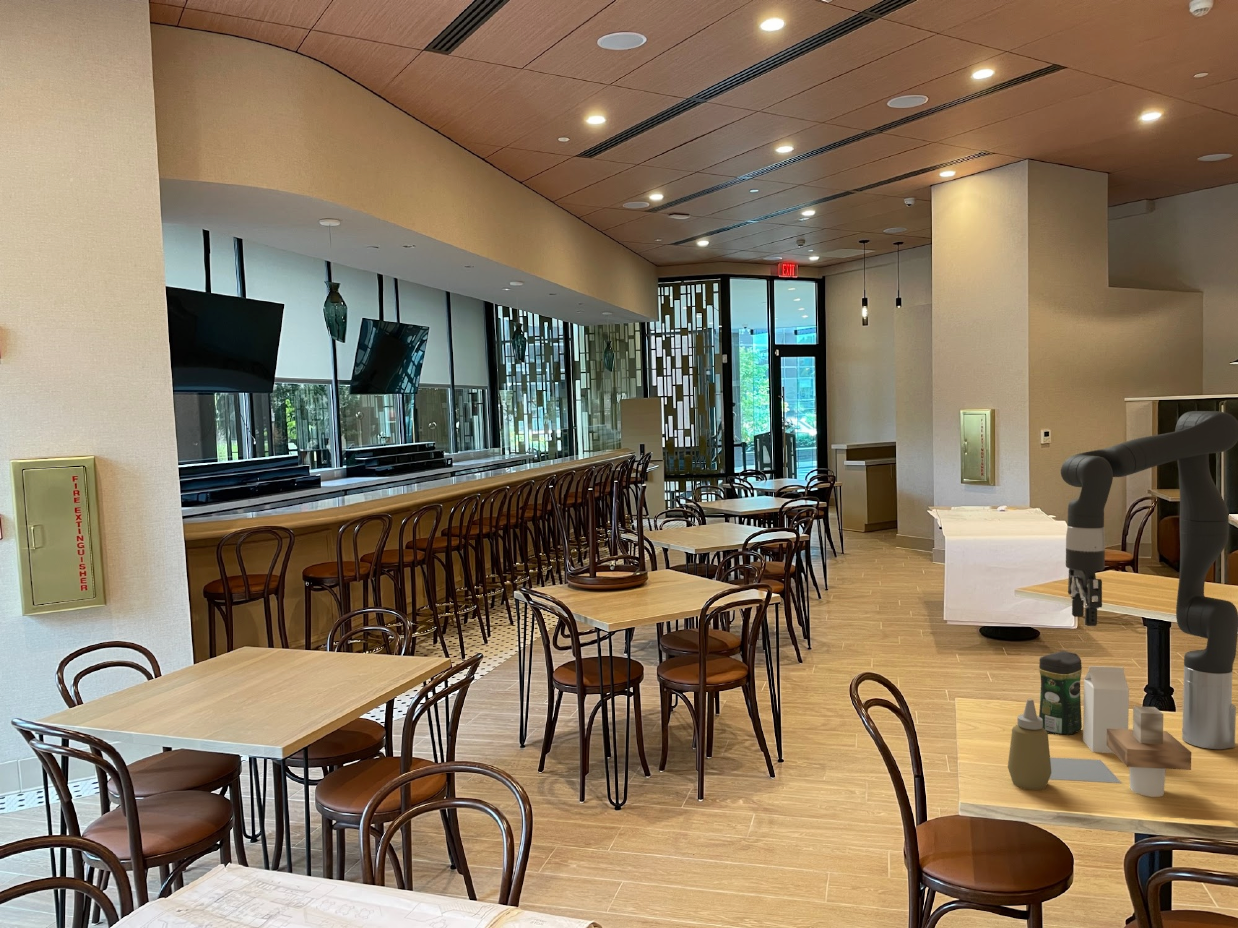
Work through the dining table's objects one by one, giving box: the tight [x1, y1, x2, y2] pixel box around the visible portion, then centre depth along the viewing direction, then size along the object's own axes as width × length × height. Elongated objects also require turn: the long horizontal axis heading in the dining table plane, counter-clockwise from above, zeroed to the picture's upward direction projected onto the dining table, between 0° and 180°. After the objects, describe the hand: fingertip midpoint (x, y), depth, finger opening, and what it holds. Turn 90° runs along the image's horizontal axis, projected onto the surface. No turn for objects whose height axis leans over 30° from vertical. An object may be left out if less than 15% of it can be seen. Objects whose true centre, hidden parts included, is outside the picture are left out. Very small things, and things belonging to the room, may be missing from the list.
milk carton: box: [1082, 665, 1130, 754], centre depth 199 cm, size 7×7×19 cm
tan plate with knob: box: [1107, 705, 1192, 771], centre depth 176 cm, size 11×11×10 cm
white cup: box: [1128, 767, 1167, 798], centre depth 176 cm, size 7×7×10 cm
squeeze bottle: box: [1007, 698, 1052, 791], centre depth 180 cm, size 8×8×18 cm
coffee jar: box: [1038, 650, 1083, 736], centre depth 212 cm, size 10×8×19 cm
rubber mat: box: [1049, 756, 1122, 784], centre depth 187 cm, size 14×12×1 cm
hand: (1084, 620), depth 195 cm, fingers open, 8 cm apart
